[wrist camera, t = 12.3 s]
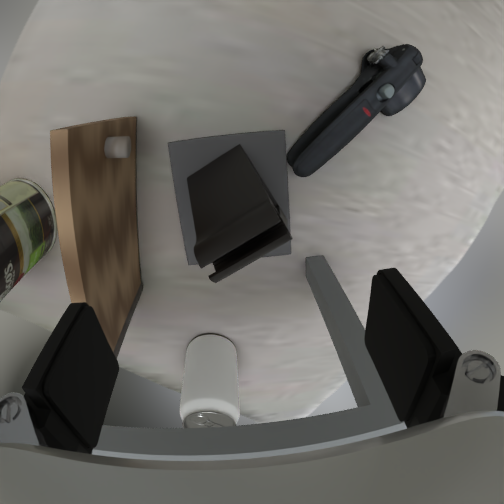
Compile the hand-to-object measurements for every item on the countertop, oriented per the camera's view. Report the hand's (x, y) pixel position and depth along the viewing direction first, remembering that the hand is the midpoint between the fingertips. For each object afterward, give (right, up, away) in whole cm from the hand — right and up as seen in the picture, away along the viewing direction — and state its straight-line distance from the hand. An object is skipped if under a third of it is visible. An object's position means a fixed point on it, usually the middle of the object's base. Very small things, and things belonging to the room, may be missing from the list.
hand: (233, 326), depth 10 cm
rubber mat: (-1, +8, +21) cm, 23 cm away
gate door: (-11, +6, +21) cm, 24 cm away
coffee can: (-26, +6, +20) cm, 34 cm away
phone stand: (-1, +8, +21) cm, 23 cm away
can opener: (+10, +17, +18) cm, 27 cm away
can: (-5, -10, +30) cm, 32 cm away
